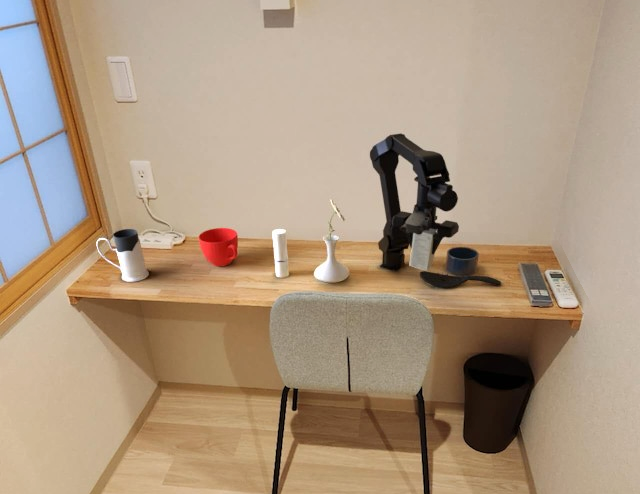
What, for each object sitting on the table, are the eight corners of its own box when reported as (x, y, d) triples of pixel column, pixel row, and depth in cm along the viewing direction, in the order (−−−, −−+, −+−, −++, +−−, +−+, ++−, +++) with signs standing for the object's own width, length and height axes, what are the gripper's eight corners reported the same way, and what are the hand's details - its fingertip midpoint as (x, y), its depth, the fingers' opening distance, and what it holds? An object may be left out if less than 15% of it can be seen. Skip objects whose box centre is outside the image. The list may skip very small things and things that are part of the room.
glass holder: (146, 280, 179) (136, 237, 171) (102, 283, 179) (90, 240, 170) (151, 269, 187) (141, 227, 178) (108, 271, 186) (97, 229, 178)
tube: (283, 270, 183) (279, 227, 174) (291, 274, 180) (288, 231, 172) (273, 274, 180) (269, 231, 172) (281, 278, 178) (278, 235, 169)
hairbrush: (504, 282, 165) (420, 276, 167) (501, 293, 167) (419, 286, 169) (500, 270, 172) (420, 264, 174) (497, 280, 174) (418, 275, 176)
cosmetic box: (432, 266, 166) (440, 229, 159) (426, 272, 163) (433, 234, 156) (413, 260, 169) (420, 223, 162) (407, 265, 166) (413, 228, 159)
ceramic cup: (222, 278, 180) (218, 249, 174) (195, 262, 190) (191, 235, 185) (254, 265, 186) (251, 238, 181) (227, 251, 197) (223, 224, 192)
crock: (440, 270, 179) (442, 255, 176) (452, 259, 186) (454, 244, 183) (469, 278, 174) (471, 262, 171) (481, 266, 181) (483, 250, 178)
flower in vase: (346, 287, 172) (346, 210, 158) (311, 285, 173) (307, 208, 160) (352, 269, 182) (352, 195, 168) (318, 267, 184) (316, 194, 170)
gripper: (383, 202, 154) (381, 254, 163) (445, 215, 145) (440, 268, 153) (402, 191, 161) (399, 241, 170) (462, 202, 152) (456, 254, 161)
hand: (422, 251), depth 163 cm, fingers closed on cosmetic box, 6 cm apart
